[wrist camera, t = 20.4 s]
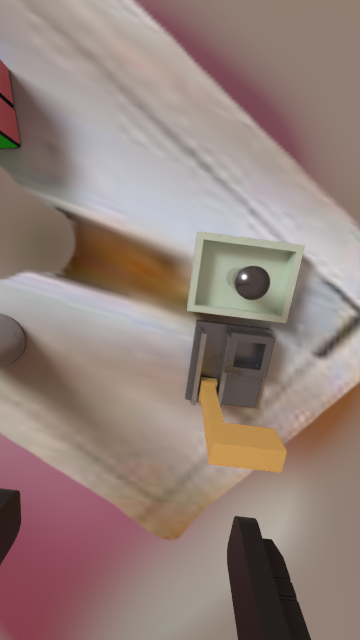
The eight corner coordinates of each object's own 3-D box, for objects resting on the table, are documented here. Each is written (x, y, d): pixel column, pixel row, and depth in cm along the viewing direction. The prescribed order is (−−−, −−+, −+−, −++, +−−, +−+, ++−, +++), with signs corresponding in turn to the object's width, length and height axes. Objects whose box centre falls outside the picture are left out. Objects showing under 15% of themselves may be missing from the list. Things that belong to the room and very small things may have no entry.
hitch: (185, 395, 46) (185, 408, 42) (196, 319, 42) (198, 325, 38) (253, 403, 46) (259, 417, 42) (270, 328, 42) (278, 335, 38)
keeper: (197, 396, 44) (205, 467, 29) (200, 376, 43) (210, 438, 28) (247, 402, 44) (280, 475, 29) (251, 383, 43) (288, 448, 28)
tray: (186, 306, 42) (187, 310, 38) (196, 233, 39) (198, 231, 36) (278, 318, 42) (286, 323, 39) (294, 246, 39) (304, 245, 36)
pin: (221, 288, 40) (233, 297, 30) (225, 262, 39) (239, 263, 29) (246, 291, 40) (266, 302, 30) (251, 266, 39) (273, 268, 29)
